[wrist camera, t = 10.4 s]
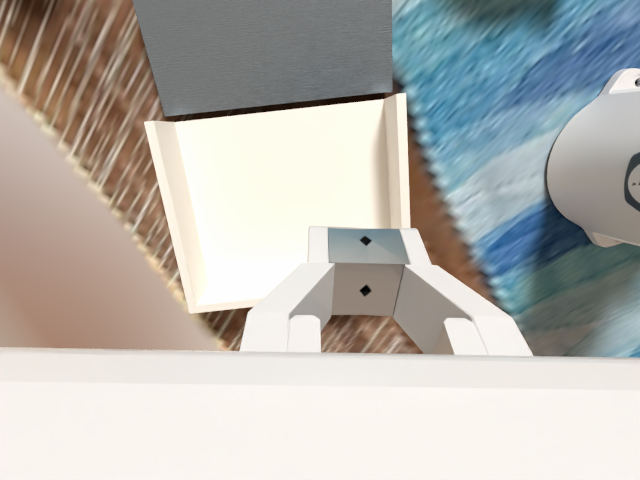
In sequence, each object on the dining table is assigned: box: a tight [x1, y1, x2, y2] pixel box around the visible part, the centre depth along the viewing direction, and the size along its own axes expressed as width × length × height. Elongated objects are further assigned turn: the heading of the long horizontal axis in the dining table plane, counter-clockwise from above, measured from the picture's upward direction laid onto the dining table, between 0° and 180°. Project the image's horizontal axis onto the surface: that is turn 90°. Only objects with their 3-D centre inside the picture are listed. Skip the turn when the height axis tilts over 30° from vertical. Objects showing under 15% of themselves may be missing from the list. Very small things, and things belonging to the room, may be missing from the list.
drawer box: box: [144, 93, 410, 314], centre depth 36 cm, size 18×22×7 cm
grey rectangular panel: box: [132, 0, 392, 117], centre depth 33 cm, size 2×22×12 cm
